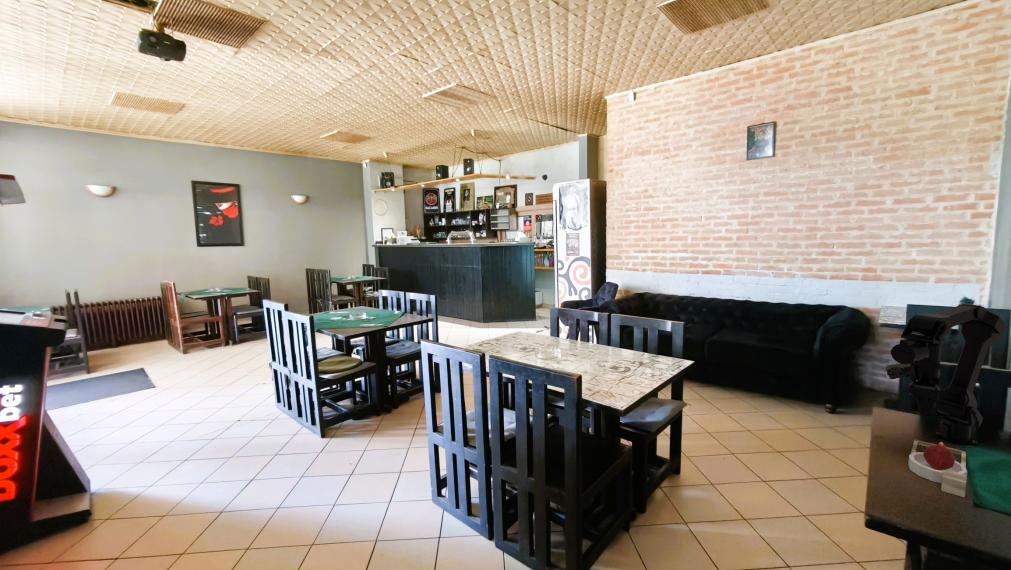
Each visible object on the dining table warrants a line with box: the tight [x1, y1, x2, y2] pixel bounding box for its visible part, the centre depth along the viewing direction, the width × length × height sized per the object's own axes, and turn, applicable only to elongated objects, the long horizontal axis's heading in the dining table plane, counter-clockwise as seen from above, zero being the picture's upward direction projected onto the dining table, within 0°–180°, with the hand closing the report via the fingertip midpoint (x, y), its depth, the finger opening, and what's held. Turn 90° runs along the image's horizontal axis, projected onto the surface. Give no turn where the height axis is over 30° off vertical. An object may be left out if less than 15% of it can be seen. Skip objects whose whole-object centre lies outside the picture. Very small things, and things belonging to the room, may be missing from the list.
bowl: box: [908, 451, 968, 484], centre depth 112 cm, size 11×11×3 cm
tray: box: [910, 438, 967, 469], centre depth 120 cm, size 11×11×1 cm
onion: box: [923, 441, 956, 470], centre depth 112 cm, size 6×6×8 cm
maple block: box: [940, 470, 967, 498], centre depth 105 cm, size 4×4×4 cm
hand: (923, 409), depth 122 cm, fingers open, 9 cm apart
